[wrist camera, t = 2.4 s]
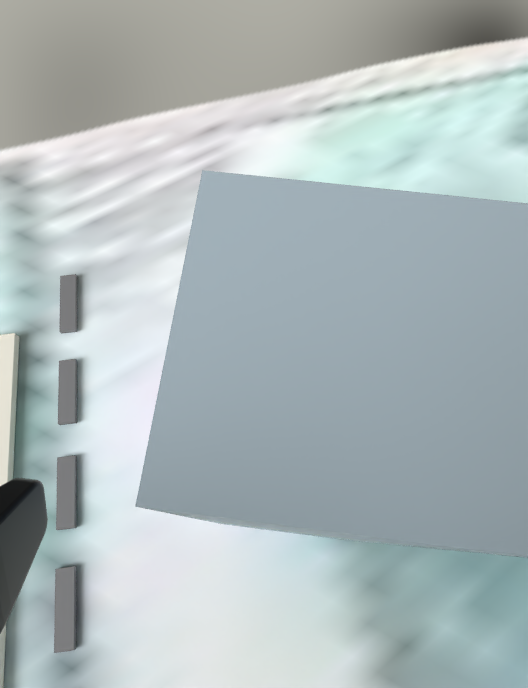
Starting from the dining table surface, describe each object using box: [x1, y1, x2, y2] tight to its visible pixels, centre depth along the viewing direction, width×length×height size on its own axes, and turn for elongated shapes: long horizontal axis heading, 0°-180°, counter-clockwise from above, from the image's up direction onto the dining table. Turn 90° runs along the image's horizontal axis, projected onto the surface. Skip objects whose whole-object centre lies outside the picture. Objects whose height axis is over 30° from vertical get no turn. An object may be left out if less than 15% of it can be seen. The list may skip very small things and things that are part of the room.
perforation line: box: [54, 274, 77, 653], centre depth 17 cm, size 17×1×1 cm, turn 7°
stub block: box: [136, 170, 528, 558], centre depth 12 cm, size 4×4×12 cm
